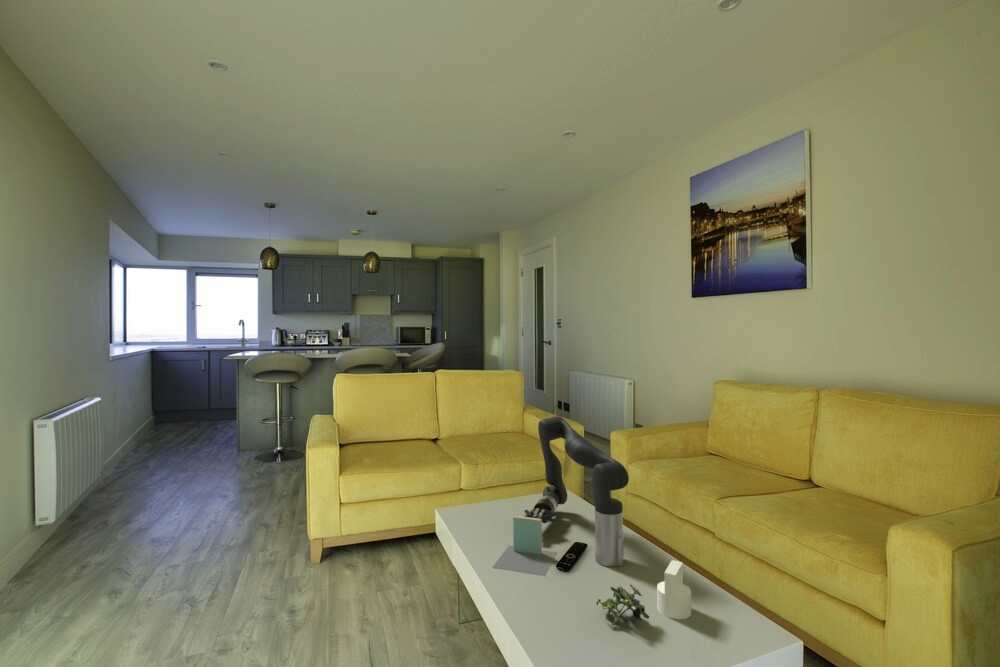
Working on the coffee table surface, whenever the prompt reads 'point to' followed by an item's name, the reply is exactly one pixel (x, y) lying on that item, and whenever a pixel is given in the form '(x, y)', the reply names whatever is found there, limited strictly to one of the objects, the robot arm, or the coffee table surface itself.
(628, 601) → the passion flower
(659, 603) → the cylinder with rectangular tab
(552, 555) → the mat
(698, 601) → the coffee table surface
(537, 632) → the coffee table surface
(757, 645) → the coffee table surface
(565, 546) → the coffee table surface
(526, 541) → the tile
